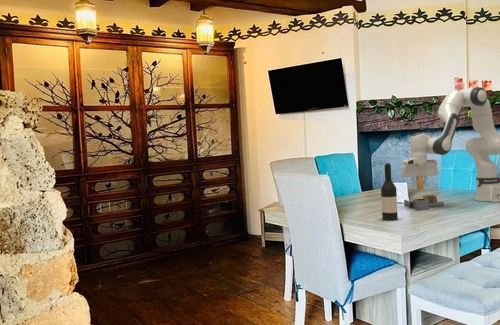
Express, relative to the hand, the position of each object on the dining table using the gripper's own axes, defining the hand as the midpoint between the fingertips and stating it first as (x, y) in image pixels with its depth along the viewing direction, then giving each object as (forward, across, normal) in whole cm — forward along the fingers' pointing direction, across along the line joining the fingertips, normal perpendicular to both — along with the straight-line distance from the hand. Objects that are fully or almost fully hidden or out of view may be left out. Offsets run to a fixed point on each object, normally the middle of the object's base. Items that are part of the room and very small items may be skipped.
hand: (419, 184), depth 256 cm
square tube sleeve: (+15, 0, 0) cm, 15 cm away
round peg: (+3, 0, 0) cm, 3 cm away
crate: (+14, -9, -10) cm, 19 cm away
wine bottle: (+15, +25, +23) cm, 37 cm away
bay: (+15, -5, -10) cm, 18 cm away
